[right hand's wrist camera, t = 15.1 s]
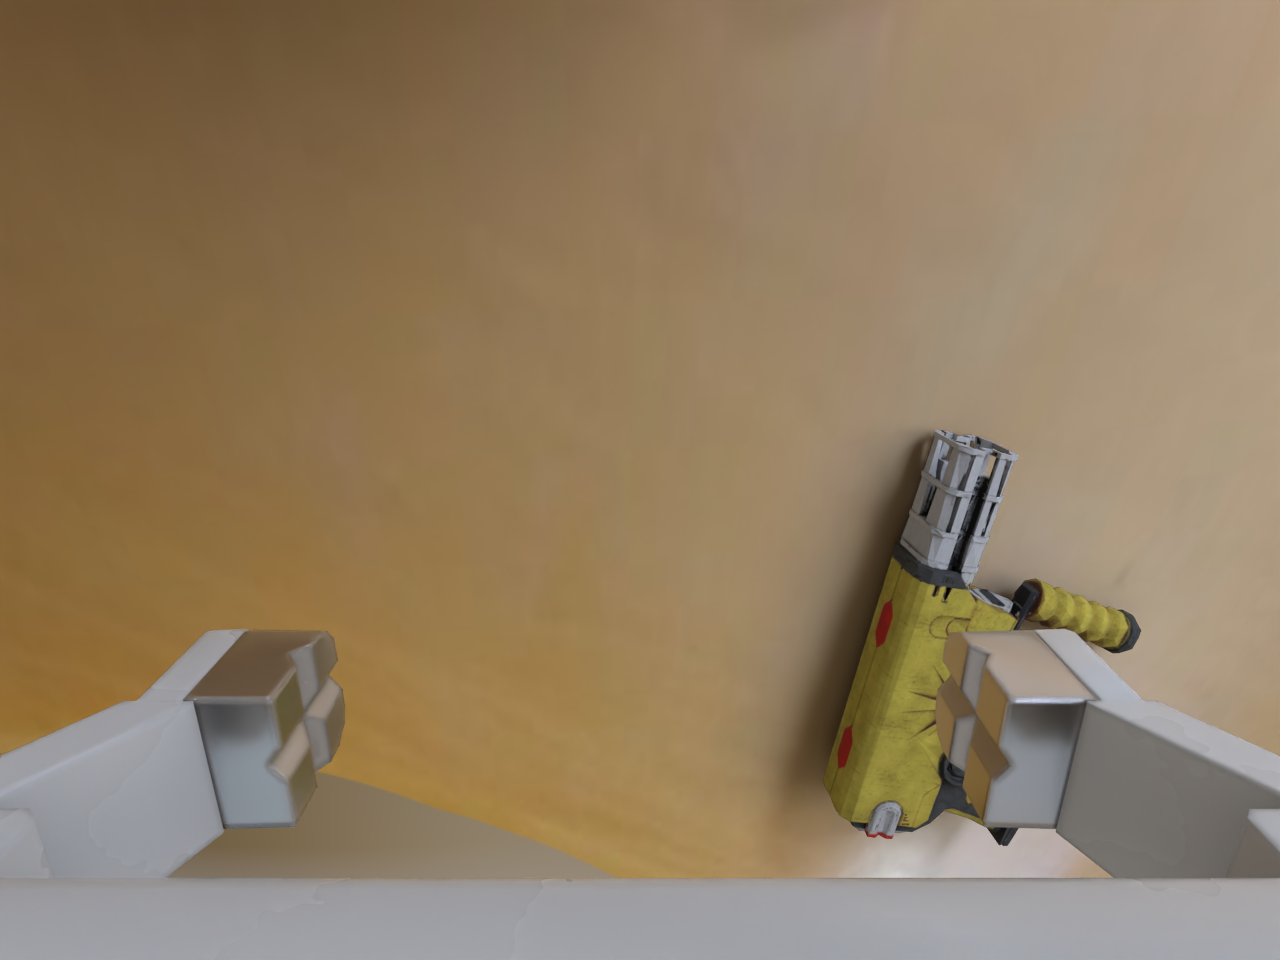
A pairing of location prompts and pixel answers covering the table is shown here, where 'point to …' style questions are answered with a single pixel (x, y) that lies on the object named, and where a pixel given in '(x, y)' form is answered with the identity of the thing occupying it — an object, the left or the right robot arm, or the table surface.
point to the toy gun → (938, 645)
